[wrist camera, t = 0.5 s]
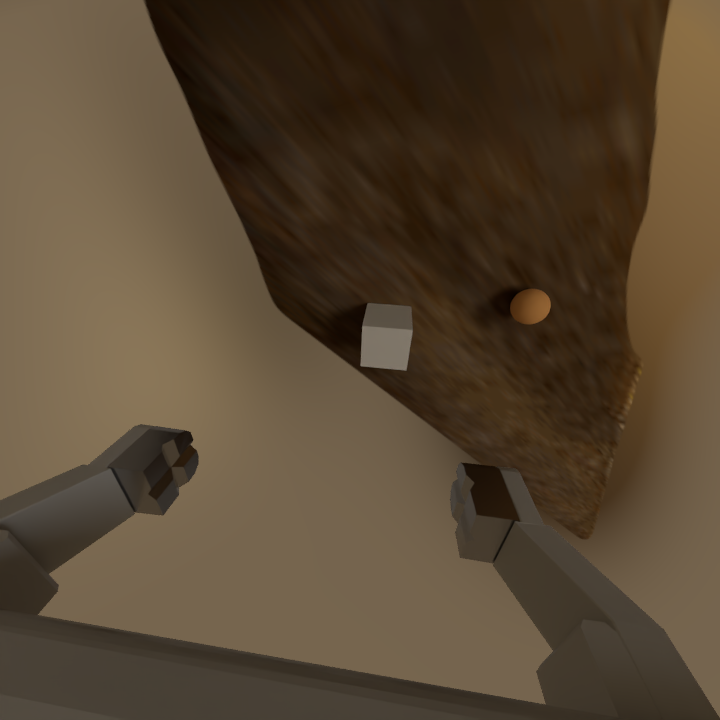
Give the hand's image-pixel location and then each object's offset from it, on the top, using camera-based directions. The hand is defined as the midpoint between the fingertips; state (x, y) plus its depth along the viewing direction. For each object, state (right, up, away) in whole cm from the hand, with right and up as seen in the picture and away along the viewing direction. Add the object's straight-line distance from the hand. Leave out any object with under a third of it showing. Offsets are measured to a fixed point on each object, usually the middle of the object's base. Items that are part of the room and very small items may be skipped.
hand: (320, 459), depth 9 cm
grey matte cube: (+6, +9, +40) cm, 41 cm away
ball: (+26, +11, +32) cm, 43 cm away
